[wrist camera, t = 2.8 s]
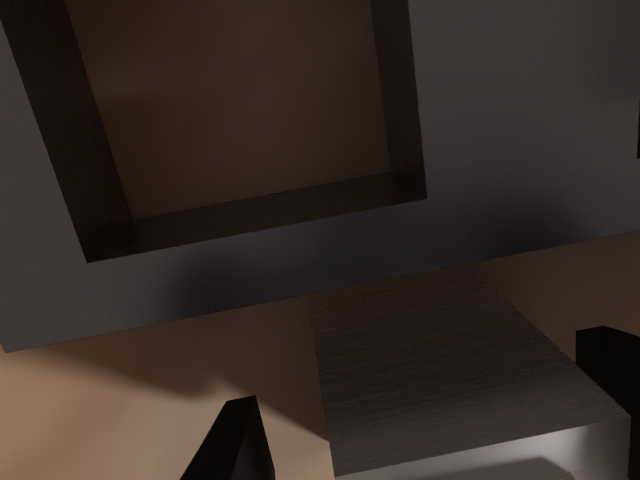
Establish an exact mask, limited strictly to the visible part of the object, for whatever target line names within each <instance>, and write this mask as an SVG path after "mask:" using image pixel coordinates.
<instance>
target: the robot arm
mask: <svg viewBox="0 0 640 480" xmlns="http://www.w3.org/2000/svg"><path fill="white" fill-rule="evenodd" d="M576 365H577V366H578V367H579V368H580V369H581V370H582V371H583V372H584V373H586V374H587V375H588V376H589V377H590V378H591V379H592V380H593V381H594V382H595V383H596V384H597V385H598V386H599V387H600V388H602V389H603V390H604V391H605V392H606V393H607V394H608V395H609V396H610V397H611V398H612V399H613V400H614V401H615V402H616V403H618V404H619V405H620V406H621V407H622V408H623V409H624V410H625V411H626V412H627V413H628V414H629V415H630V416H631V427H630V446H629V465H628V479H629V480H640V337H638V336H635V335H632V334H629V333H626V332H623V331H620V330H617V329H614V328H610V327H607V326H599V327H594V328H589V329H584V330H579V331H576ZM180 480H275V469H274V465H273V462H272V458H271V454H270V450H269V446H268V442H267V438H266V434H265V430H264V426H263V422H262V418H261V415H260V411H259V407H258V403H257V399H256V395H254V396H249V397H244V398H239V399H234V400H229V401H227V402H226V403H225V405H224V406H223V408H222V409H221V411H220V413H219V415H218V416H217V418H216V420H215V422H214V423H213V425H212V427H211V429H210V431H209V432H208V434H207V436H206V437H205V439H204V441H203V443H202V444H201V446H200V448H199V449H198V451H197V453H196V454H195V456H194V457H193V459H192V461H191V462H190V464H189V466H188V467H187V469H186V470H185V472H184V474H183V475H182V477H181V478H180Z"/></svg>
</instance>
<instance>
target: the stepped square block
mask: <svg viewBox="0 0 640 480" xmlns="http://www.w3.org/2000/svg"><path fill="white" fill-rule="evenodd" d="M309 308H310V315H311V322H312V328H313V335H314V342H315V349H316V355H317V362H318V369H319V375H320V382H321V389H322V396H323V402H324V409H325V416H326V422H327V429H328V436H329V443H330V449H331V456H332V463H333V469H334V476H335V480H628V465H629V446H630V427H631V416H630V415H629V414H628V413H627V412H626V411H625V410H624V409H623V408H622V407H621V406H620V405H619V404H618V403H616V402H615V401H614V400H613V399H612V398H611V397H610V396H609V395H608V394H607V393H606V392H605V391H604V390H603V389H602V388H600V387H599V386H598V385H597V384H596V383H595V382H594V381H593V380H592V379H591V378H590V377H589V376H588V375H587V374H586V373H584V372H583V371H582V370H581V369H580V368H579V367H578V366H577V365H576V364H575V363H574V362H573V361H572V360H571V359H570V358H568V357H567V356H566V355H565V354H564V353H563V352H562V351H561V350H560V349H559V348H558V347H557V346H556V345H555V344H554V343H552V342H551V341H550V340H549V339H548V338H547V337H546V336H545V335H544V334H543V333H542V332H541V331H540V330H539V329H538V328H536V327H535V326H534V325H533V324H532V323H531V322H530V321H529V320H528V319H527V318H526V317H525V316H524V315H523V314H521V313H520V312H519V311H518V310H517V309H516V308H515V307H514V306H513V305H512V304H511V303H510V302H509V301H508V300H507V299H505V298H504V297H503V296H502V295H501V294H500V293H499V292H498V291H497V290H496V289H495V288H494V287H493V286H492V285H491V284H489V283H488V282H487V281H486V280H485V279H484V278H483V277H482V276H481V275H480V274H476V275H471V276H466V277H460V278H455V279H450V280H445V281H440V282H435V283H430V284H425V285H420V286H415V287H409V288H404V289H399V290H394V291H389V292H384V293H379V294H374V295H369V296H364V297H358V298H353V299H348V300H343V301H338V302H333V303H328V304H323V305H318V306H313V307H309Z"/></svg>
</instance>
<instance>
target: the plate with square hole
mask: <svg viewBox="0 0 640 480" xmlns="http://www.w3.org/2000/svg"><path fill="white" fill-rule="evenodd" d="M371 6H372V15H373V23H374V31H375V39H376V47H377V56H378V64H379V72H380V80H381V88H382V97H383V105H384V113H385V121H386V129H387V138H388V146H389V154H390V162H391V170H392V172H388V173H383V174H377V175H372V176H367V177H361V178H356V179H351V180H345V181H340V182H335V183H329V184H324V185H319V186H313V187H308V188H303V189H297V190H292V191H287V192H281V193H276V194H271V195H265V196H260V197H255V198H249V199H244V200H239V201H233V202H228V203H222V204H217V205H212V206H206V207H201V208H196V209H190V210H185V211H180V212H174V213H169V214H164V215H158V216H153V217H148V218H142V219H137V220H132V218H131V215H130V212H129V209H128V205H127V202H126V199H125V196H124V193H123V189H122V186H121V183H120V180H119V177H118V173H117V170H116V167H115V164H114V161H113V157H112V154H111V151H110V148H109V145H108V141H107V138H106V135H105V132H104V128H103V125H102V122H101V119H100V116H99V112H98V109H97V106H96V103H95V100H94V96H93V93H92V90H91V87H90V84H89V80H88V77H87V74H86V71H85V67H84V64H83V61H82V58H81V55H80V51H79V48H78V45H77V42H76V39H75V35H74V32H73V29H72V26H71V23H70V19H69V16H68V13H67V10H66V6H65V3H64V0H0V342H1V344H2V346H3V349H4V351H5V353H9V352H14V351H19V350H24V349H29V348H34V347H40V346H45V345H50V344H55V343H60V342H65V341H70V340H76V339H81V338H86V337H91V336H96V335H101V334H107V333H112V332H117V331H122V330H127V329H132V328H137V327H143V326H148V325H153V324H158V323H163V322H168V321H173V320H179V319H184V318H189V317H194V316H199V315H204V314H210V313H215V312H220V311H225V310H230V309H235V308H240V307H246V306H251V305H256V304H261V303H266V302H271V301H276V300H282V299H287V298H292V297H297V296H302V295H307V294H313V293H318V292H323V291H328V290H333V289H338V288H343V287H349V286H354V285H359V284H364V283H369V282H374V281H379V280H385V279H390V278H395V277H400V276H405V275H410V274H416V273H421V272H426V271H431V270H436V269H441V268H446V267H452V266H457V265H462V264H467V263H472V262H477V261H482V260H488V259H493V258H498V257H503V256H508V255H513V254H519V253H524V252H529V251H534V250H539V249H544V248H549V247H555V246H560V245H565V244H570V243H575V242H580V241H585V240H591V239H596V238H601V237H606V236H611V235H616V234H622V233H627V232H632V231H637V230H640V125H639V126H638V123H639V101H640V0H371Z"/></svg>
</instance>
